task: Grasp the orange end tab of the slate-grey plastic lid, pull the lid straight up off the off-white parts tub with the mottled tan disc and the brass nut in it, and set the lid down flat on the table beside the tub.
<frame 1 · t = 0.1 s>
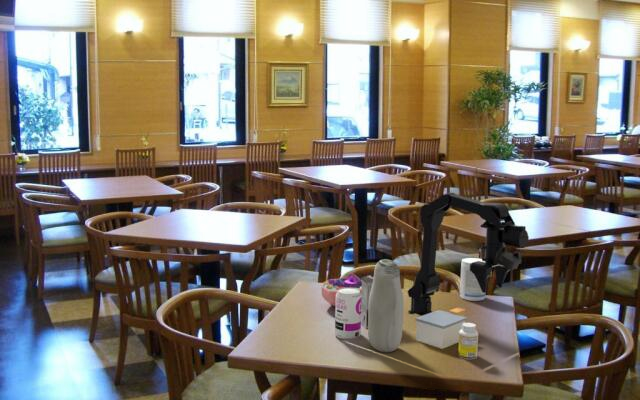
hand: (492, 289, 234), 15 cm above the table, fingers open, 9 cm apart
glass bottle: (384, 351, 218), on the table
supplement tub: (472, 298, 275), on the table
coffee box: (375, 325, 241), on the table
supplement bottle: (467, 358, 214), on the table
supplement can: (347, 336, 230), on the table
cell model: (345, 306, 262), on the table
brass nut 2: (430, 340, 226), point 1 cm above the table, touching tub
mottled tan disc 1: (451, 339, 227), point 1 cm above the table, touching tub
tub: (440, 341, 227), on the table
lid: (441, 320, 226), point 7 cm above the table, touching tub
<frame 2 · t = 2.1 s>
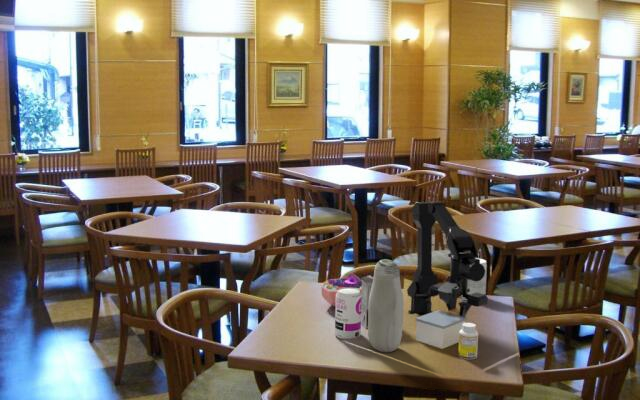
hand: (456, 320, 232), 5 cm above the table, fingers closed on lid, 3 cm apart
lid: (441, 320, 226), point 7 cm above the table, touching gripper, tub
everything else where it was.
when the fingers open (1 cm above the table, at t = 8.8 s): lid drops 2 cm, point 1 cm above the table.
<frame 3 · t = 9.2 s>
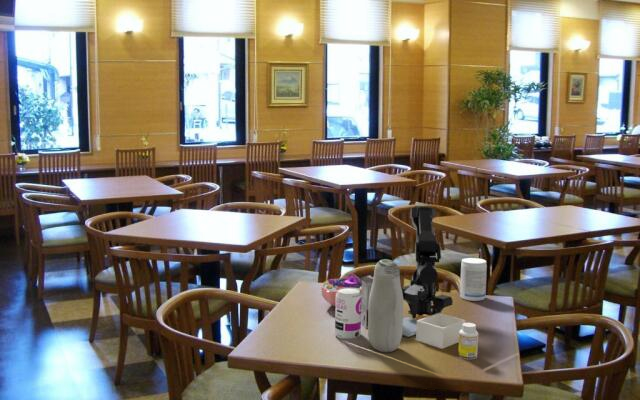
hand: (423, 321, 242), 1 cm above the table, fingers open, 8 cm apart
lid: (407, 327, 236), point 1 cm above the table
everything else where it was.
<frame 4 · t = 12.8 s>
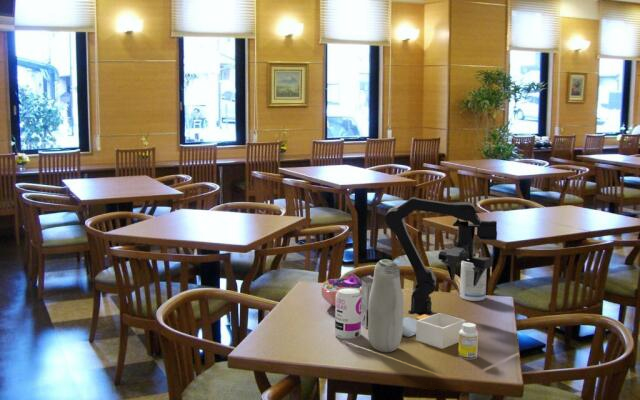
hand: (463, 283, 251), 12 cm above the table, fingers open, 9 cm apart
nothing on the table moved.
at the end: lid inside the target area (0.0 cm from its centre), point 1.2 cm above the table; lid touching table; lid tilted 2° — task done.
